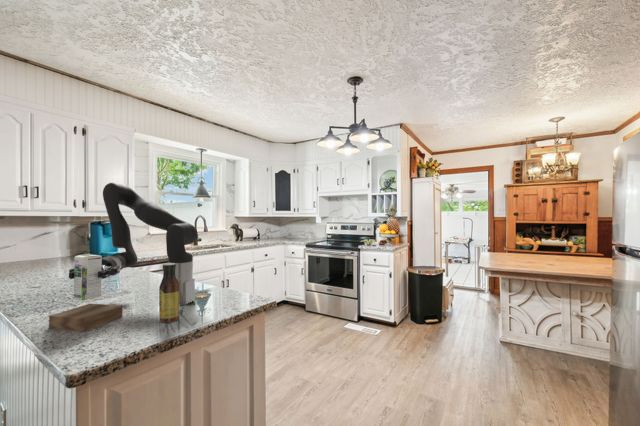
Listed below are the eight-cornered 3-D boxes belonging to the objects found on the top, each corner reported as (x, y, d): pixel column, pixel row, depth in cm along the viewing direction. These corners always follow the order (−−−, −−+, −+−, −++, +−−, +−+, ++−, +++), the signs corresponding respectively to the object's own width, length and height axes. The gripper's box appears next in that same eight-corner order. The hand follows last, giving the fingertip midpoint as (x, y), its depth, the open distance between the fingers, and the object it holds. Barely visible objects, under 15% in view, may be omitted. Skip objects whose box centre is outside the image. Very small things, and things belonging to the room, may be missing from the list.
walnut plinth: (122, 316, 108) (122, 305, 108) (85, 331, 94) (85, 318, 94) (89, 314, 110) (89, 303, 110) (48, 328, 96) (49, 315, 96)
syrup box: (72, 298, 100) (73, 255, 100) (91, 294, 106) (92, 253, 106) (83, 301, 98) (83, 257, 98) (102, 296, 104) (102, 254, 104)
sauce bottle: (163, 317, 107) (164, 262, 107) (181, 317, 108) (182, 262, 108) (155, 324, 100) (156, 265, 101) (174, 323, 101) (175, 264, 101)
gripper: (85, 257, 114) (60, 264, 98) (127, 256, 118) (109, 263, 102) (85, 277, 114) (59, 287, 98) (127, 275, 118) (109, 285, 102)
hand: (85, 275), depth 100 cm, fingers closed on syrup box, 7 cm apart
